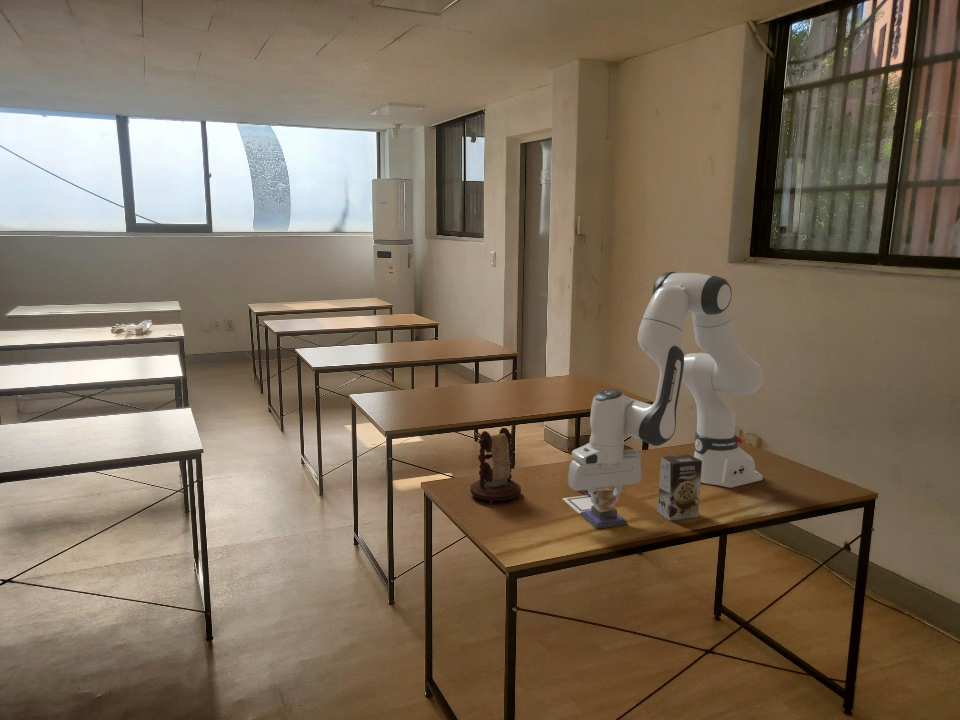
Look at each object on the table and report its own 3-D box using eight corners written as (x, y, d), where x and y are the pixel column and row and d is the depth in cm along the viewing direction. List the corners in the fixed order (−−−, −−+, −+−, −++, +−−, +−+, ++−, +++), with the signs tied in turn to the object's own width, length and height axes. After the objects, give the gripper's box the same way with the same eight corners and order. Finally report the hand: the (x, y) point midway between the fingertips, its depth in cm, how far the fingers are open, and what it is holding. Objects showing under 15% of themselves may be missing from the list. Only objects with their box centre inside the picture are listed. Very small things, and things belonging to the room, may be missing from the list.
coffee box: (669, 521, 184) (672, 463, 181) (656, 512, 190) (659, 456, 187) (699, 517, 186) (703, 460, 183) (685, 508, 192) (689, 453, 189)
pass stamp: (607, 510, 187) (608, 486, 186) (616, 517, 183) (617, 492, 181) (591, 512, 186) (592, 488, 185) (599, 520, 181) (600, 494, 180)
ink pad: (610, 511, 190) (610, 507, 190) (626, 524, 182) (627, 519, 181) (580, 515, 187) (580, 510, 187) (596, 528, 179) (596, 524, 179)
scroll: (488, 509, 191) (489, 440, 188) (460, 492, 203) (460, 427, 200) (530, 498, 199) (532, 431, 196) (501, 483, 211) (502, 420, 208)
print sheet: (596, 495, 202) (596, 493, 202) (615, 509, 192) (615, 507, 192) (562, 499, 199) (562, 498, 199) (579, 514, 188) (579, 512, 188)
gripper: (635, 444, 187) (632, 493, 190) (566, 451, 181) (564, 501, 184) (647, 451, 181) (645, 501, 184) (576, 459, 175) (575, 510, 178)
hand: (604, 501), depth 184 cm, fingers closed on pass stamp, 4 cm apart
